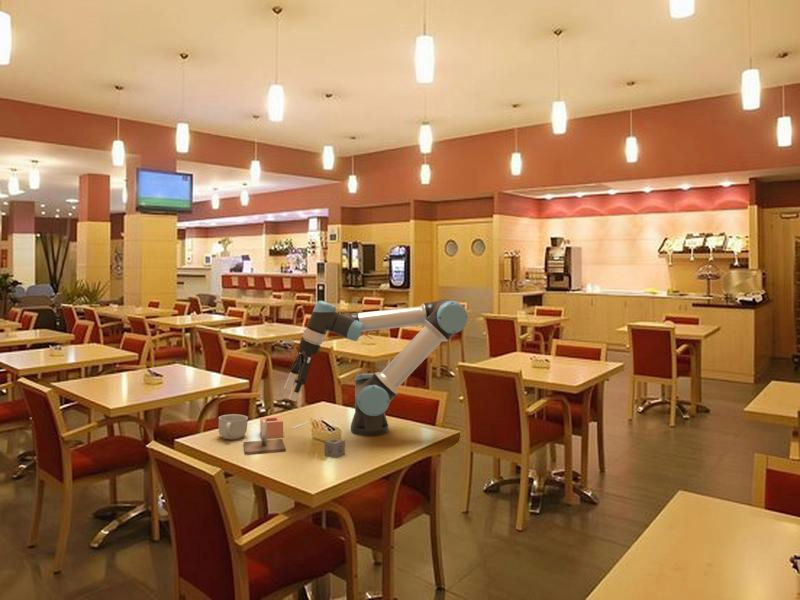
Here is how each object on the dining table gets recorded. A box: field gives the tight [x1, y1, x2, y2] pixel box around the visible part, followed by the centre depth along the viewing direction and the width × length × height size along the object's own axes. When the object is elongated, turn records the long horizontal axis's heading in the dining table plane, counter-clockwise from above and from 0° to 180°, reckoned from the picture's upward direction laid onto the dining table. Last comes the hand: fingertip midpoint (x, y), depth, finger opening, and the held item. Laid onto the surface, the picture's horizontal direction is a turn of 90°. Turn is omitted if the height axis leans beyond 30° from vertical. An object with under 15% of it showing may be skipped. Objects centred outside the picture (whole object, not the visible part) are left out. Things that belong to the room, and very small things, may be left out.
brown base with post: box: [243, 420, 287, 456], centre depth 210 cm, size 14×12×10 cm
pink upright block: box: [259, 416, 284, 439], centre depth 227 cm, size 8×8×6 cm
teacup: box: [218, 413, 249, 441], centre depth 221 cm, size 14×11×8 cm
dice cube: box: [324, 437, 346, 459], centre depth 203 cm, size 5×5×5 cm
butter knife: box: [292, 420, 310, 429], centre depth 248 cm, size 1×27×3 cm
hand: (289, 394), depth 215 cm, fingers open, 13 cm apart
